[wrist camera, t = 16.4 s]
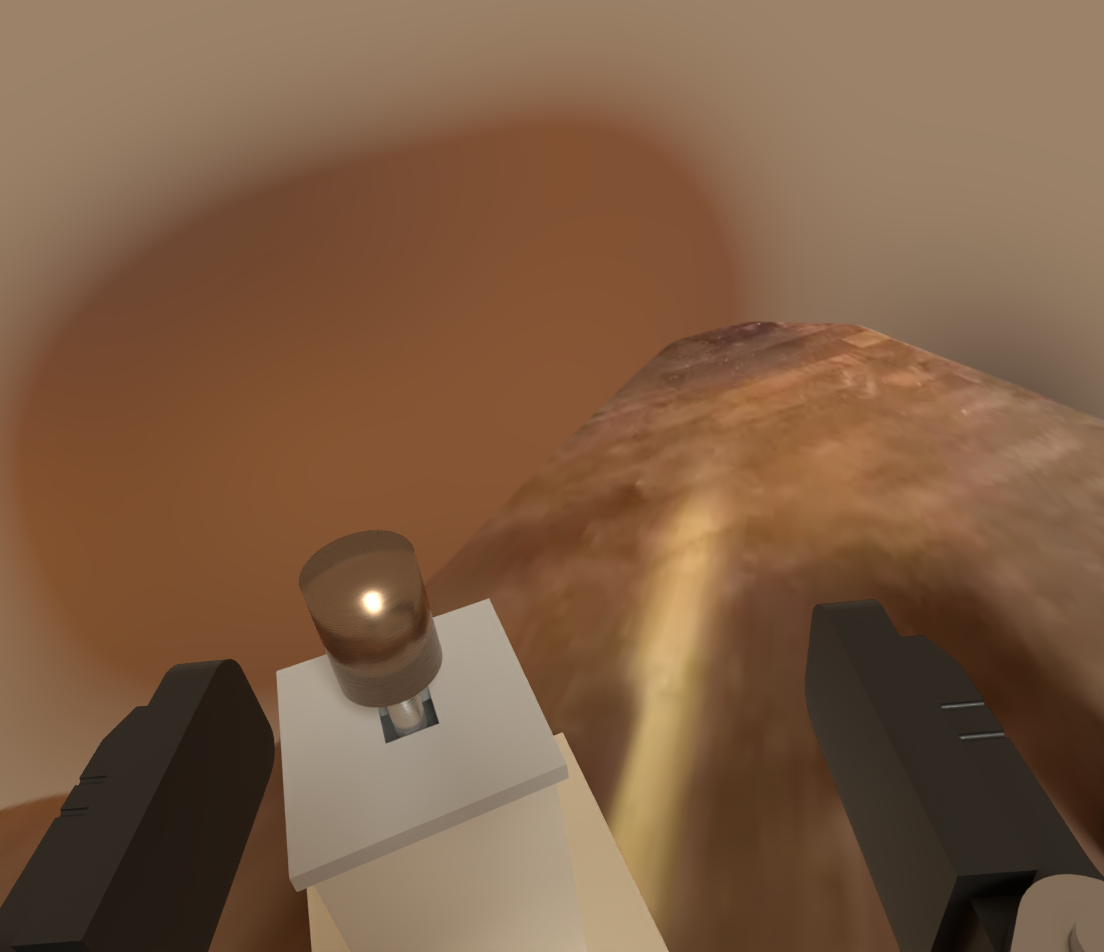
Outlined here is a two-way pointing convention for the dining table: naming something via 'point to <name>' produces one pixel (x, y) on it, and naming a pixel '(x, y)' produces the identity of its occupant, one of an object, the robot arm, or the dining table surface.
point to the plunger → (375, 623)
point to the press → (449, 815)
